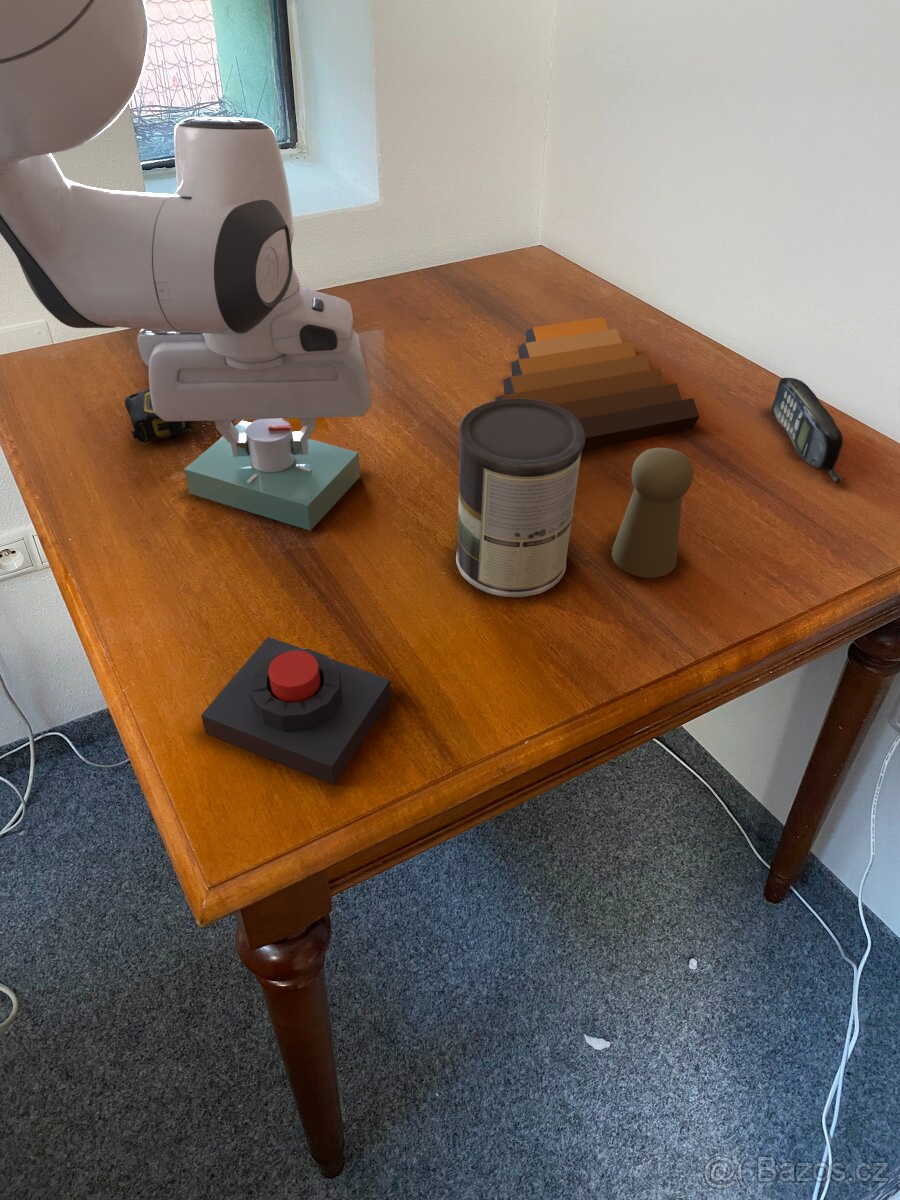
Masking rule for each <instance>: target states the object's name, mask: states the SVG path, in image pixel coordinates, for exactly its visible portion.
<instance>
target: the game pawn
mask: <svg viewBox="0 0 900 1200" xmlns="http://www.w3.org/2000/svg"><path fill="white" fill-rule="evenodd" d="M630 477H631V482H632V485H633V488H634V489H633V492H632V494H631V497H630V500H629V502H628V505H627V508H626V511H625V513H624V516H623V518H622V522H621V524H620V527H619V529H618V532H617V534H616V537H615V541H614V542H613V546H612V548H611V549H612V550H611V553H610V554H611V558H612V560H613V562H614V563H615V565H616V566H617V567H618V568H619V569H621V570H622V571H624V572H625V573H628V574H630V575H632V576H634V577H640V578H643V579H647V578H649V579H651V578H653V579H655V578H660V577H663V576H667V575H668V574H670V573H672V572H673V570H674V569H675V567H676V566H677V560H678V549H679V537H680V527H681V526H680V525H681V513H682V503H683V502H682V501H683V497H684V496H685V495H686V494H687V493H688V491H690V488H691V486H692V483H693V480H694V468H693V465H692V463H691V460H690V459H689V458H688V457H687V455H685V454H684V453H682V452H680V451H678V450H675V449H672V448H668V447H654V448H648V449H647V450H644V451H643V452H641V453H640V454H639V455H638V456H637V457H636V458H635V460H634V462H633V465H632V469H631V475H630Z"/></svg>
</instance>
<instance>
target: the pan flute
mask: <svg viewBox="0 0 900 1200" xmlns="http://www.w3.org/2000/svg"><path fill="white" fill-rule="evenodd" d="M525 341H526V342H524V343H522V344H520V345H519V346H518V359H516V360H514V361H512V362H511V364H510V365H511V376H509V377H507V378H504V379H503V394H502V395H499V396H497V397H494V398H495V399H494V401H496V400H502V399H513V398H516V399H520V398H522V399H533V400H539V401H544V402H547V403H551V404H554V405H556V406H559V407H561V408H563V409H565V410H567V411H568V412H570V413H571V414H573V415H574V416H575V417H576V418H577V419H578V420H579V421H580V423H581V424H582V426H583V428H584V430H585V443H584V447H583V449H582V452H583V451H588V450H595V449H599V448H604V447H610V446H615V445H621V444H625V443H630V442H635V441H640V440H645V439H650V438H656V437H660V436H666V435H671V434H675V433H682V432H686V431H691V430H693V429H694V427H695V426H696V424H697V421H698V420H699V418H700V414H699V411H698V407H697V404H696V401H695V399H694V397H690V398H685V399H683V397H682V394H681V390H680V388H679V386H678V383H677V382H673V383H667V382H666V380H665V377H664V374H663V370H662V368H660V367H659V368H654V369H651V366H650V363H649V360H648V358H647V355H646V354H645V353H644V354H640V355H636V351H635V350H634V345H633V343H632V341H631V340H630V341H623V342H622V338H621V335H620V333H619V330H618V328H613V329H612V328H611V329H609V328H608V325H607V321H606V318H605V316H599V317H592V318H586V319H580V320H573V321H566V322H560V323H552V324H546V325H540V326H539V325H538V326H533V327H530V328H528V329H527V330H525Z"/></svg>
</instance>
